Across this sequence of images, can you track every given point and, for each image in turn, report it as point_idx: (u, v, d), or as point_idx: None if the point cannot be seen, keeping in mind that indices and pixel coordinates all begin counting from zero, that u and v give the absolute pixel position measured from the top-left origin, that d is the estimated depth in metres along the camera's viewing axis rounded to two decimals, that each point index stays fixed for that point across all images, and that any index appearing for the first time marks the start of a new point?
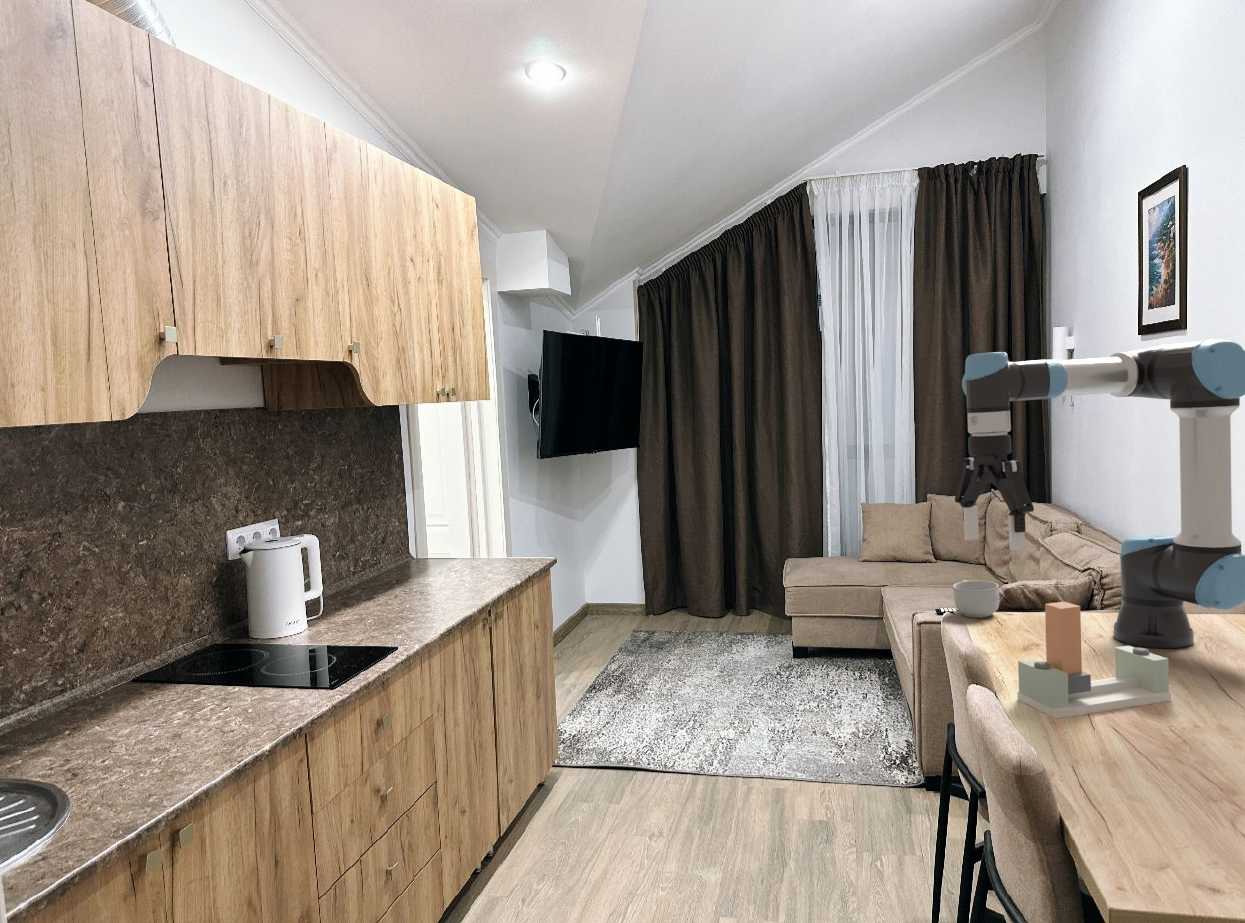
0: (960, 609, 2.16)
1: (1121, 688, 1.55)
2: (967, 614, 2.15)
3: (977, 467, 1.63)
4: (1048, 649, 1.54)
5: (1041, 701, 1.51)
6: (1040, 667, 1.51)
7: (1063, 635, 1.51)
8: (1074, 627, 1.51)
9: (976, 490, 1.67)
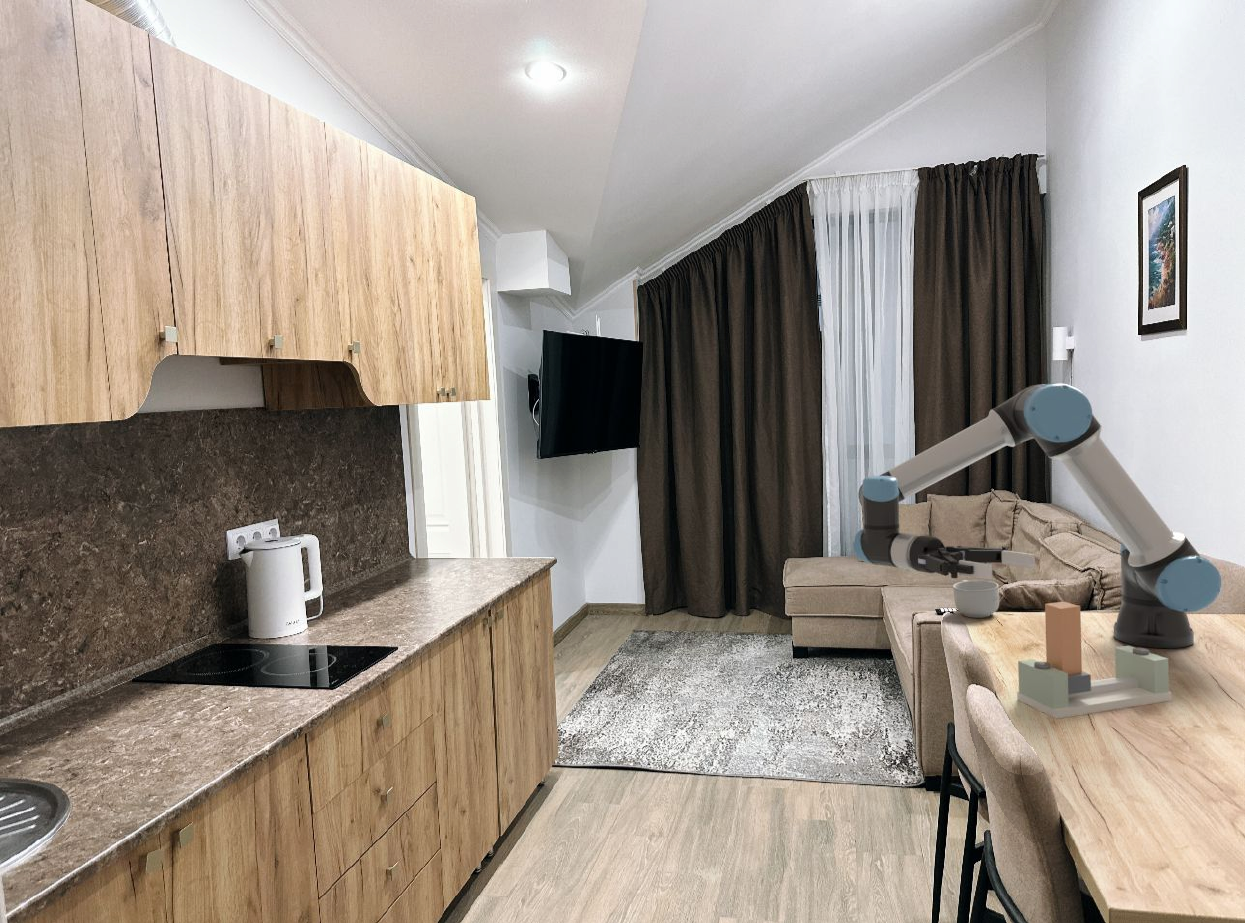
0: (960, 609, 2.16)
1: (1121, 688, 1.55)
2: (967, 614, 2.15)
3: None
4: (1048, 649, 1.54)
5: (1041, 701, 1.51)
6: (1040, 667, 1.51)
7: (1063, 635, 1.51)
8: (1074, 627, 1.51)
9: (979, 557, 1.71)
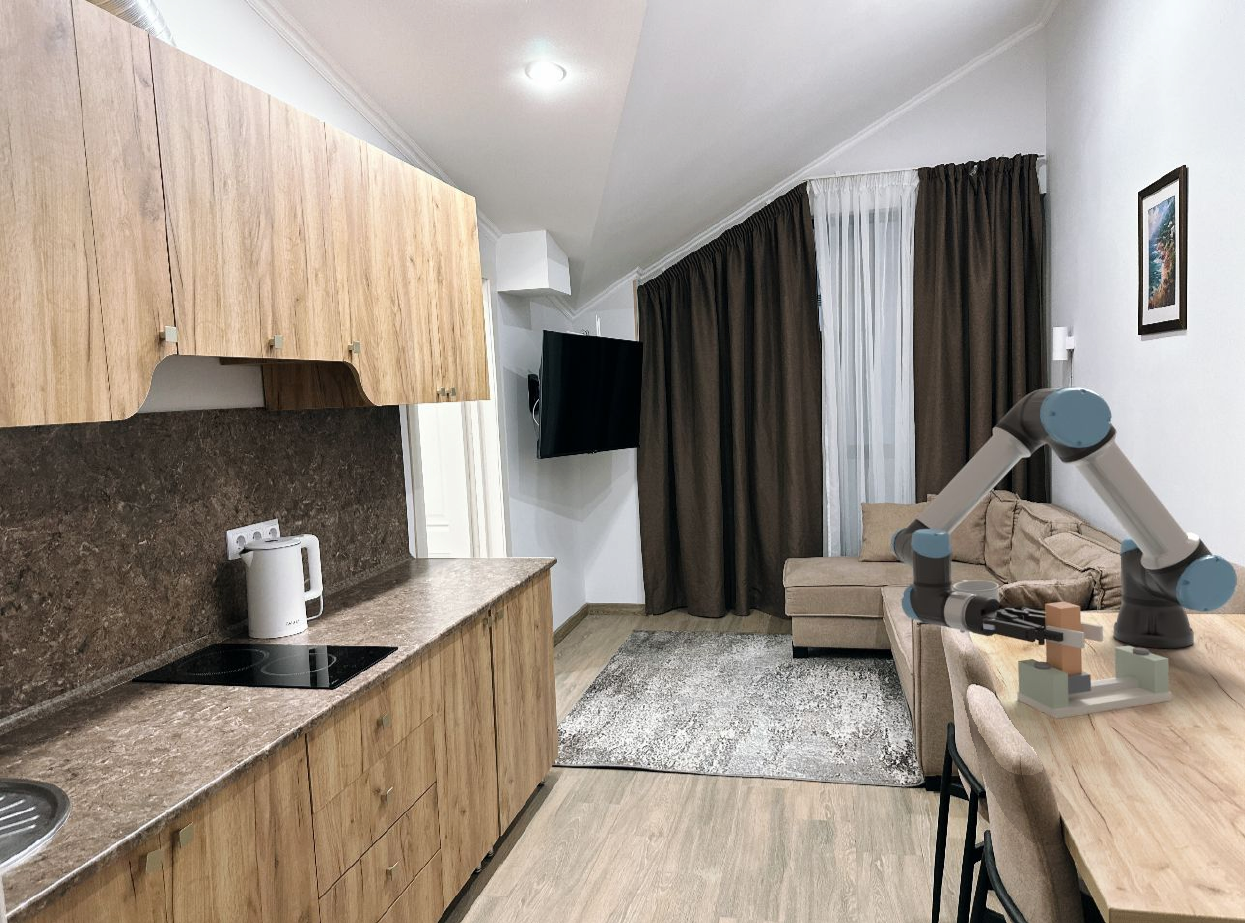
0: None
1: (1121, 688, 1.55)
2: None
3: None
4: (1048, 649, 1.54)
5: (1041, 701, 1.51)
6: (1040, 667, 1.51)
7: None
8: (1074, 627, 1.51)
9: (1038, 623, 1.59)
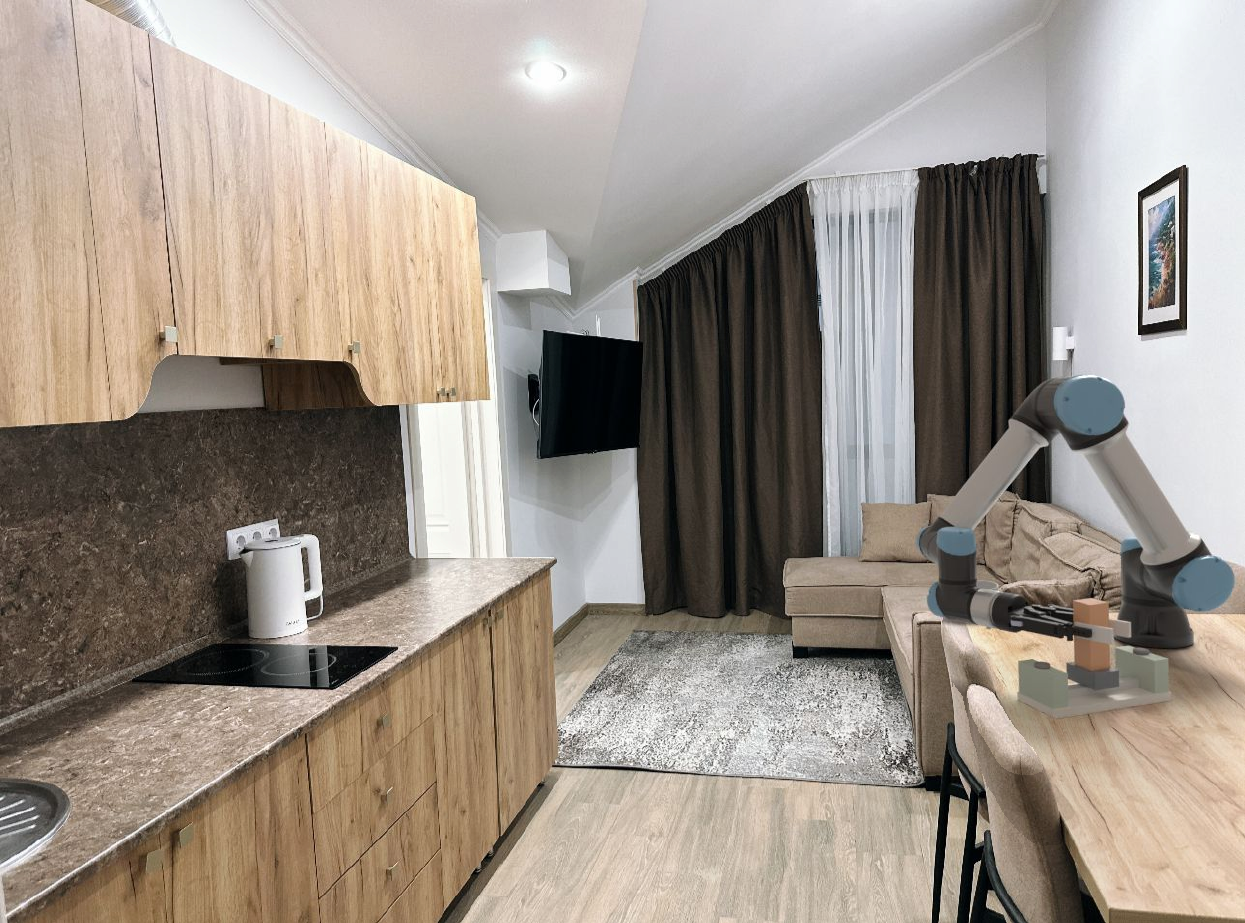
0: None
1: (1121, 688, 1.55)
2: None
3: None
4: (1076, 645, 1.55)
5: (1041, 701, 1.51)
6: (1040, 667, 1.51)
7: None
8: (1102, 623, 1.52)
9: (1065, 619, 1.60)
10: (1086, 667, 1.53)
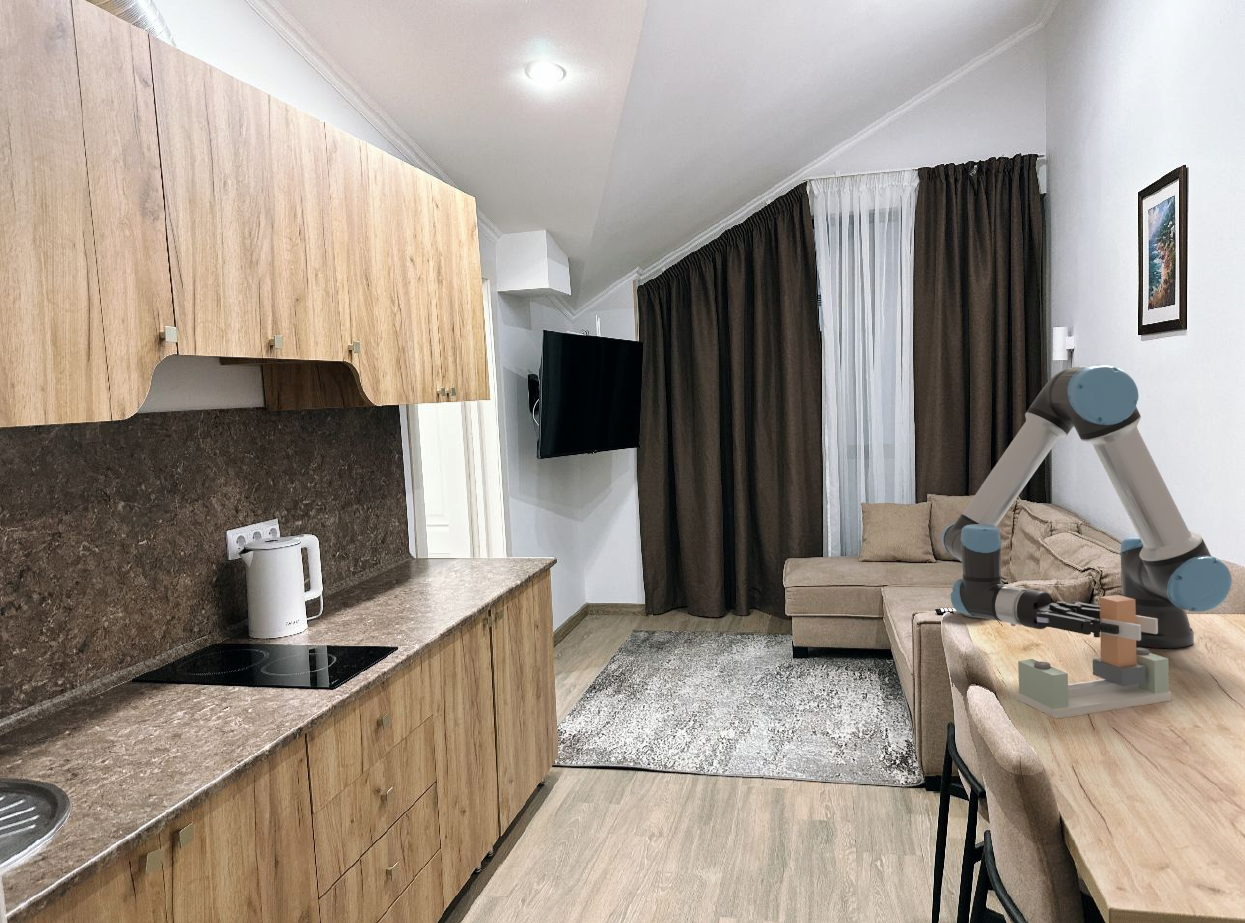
0: None
1: (1121, 688, 1.55)
2: None
3: None
4: (1102, 641, 1.57)
5: (1041, 701, 1.51)
6: (1040, 667, 1.51)
7: None
8: (1129, 620, 1.54)
9: (1091, 616, 1.62)
10: (1113, 663, 1.55)
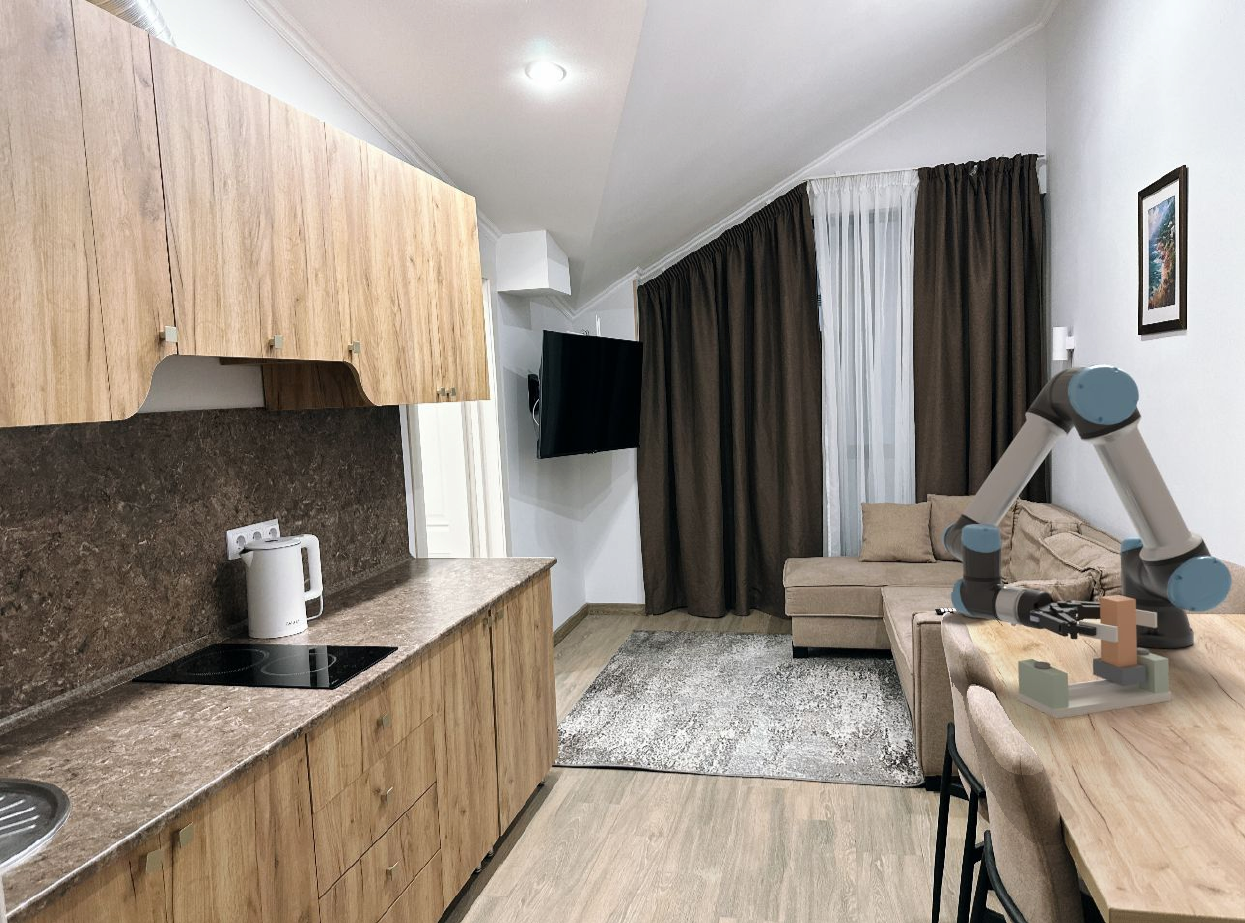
0: None
1: (1121, 688, 1.55)
2: (967, 614, 2.15)
3: None
4: (1103, 641, 1.57)
5: (1041, 701, 1.51)
6: (1040, 667, 1.51)
7: (1119, 627, 1.53)
8: (1129, 620, 1.54)
9: (1093, 613, 1.64)
10: (1113, 663, 1.55)
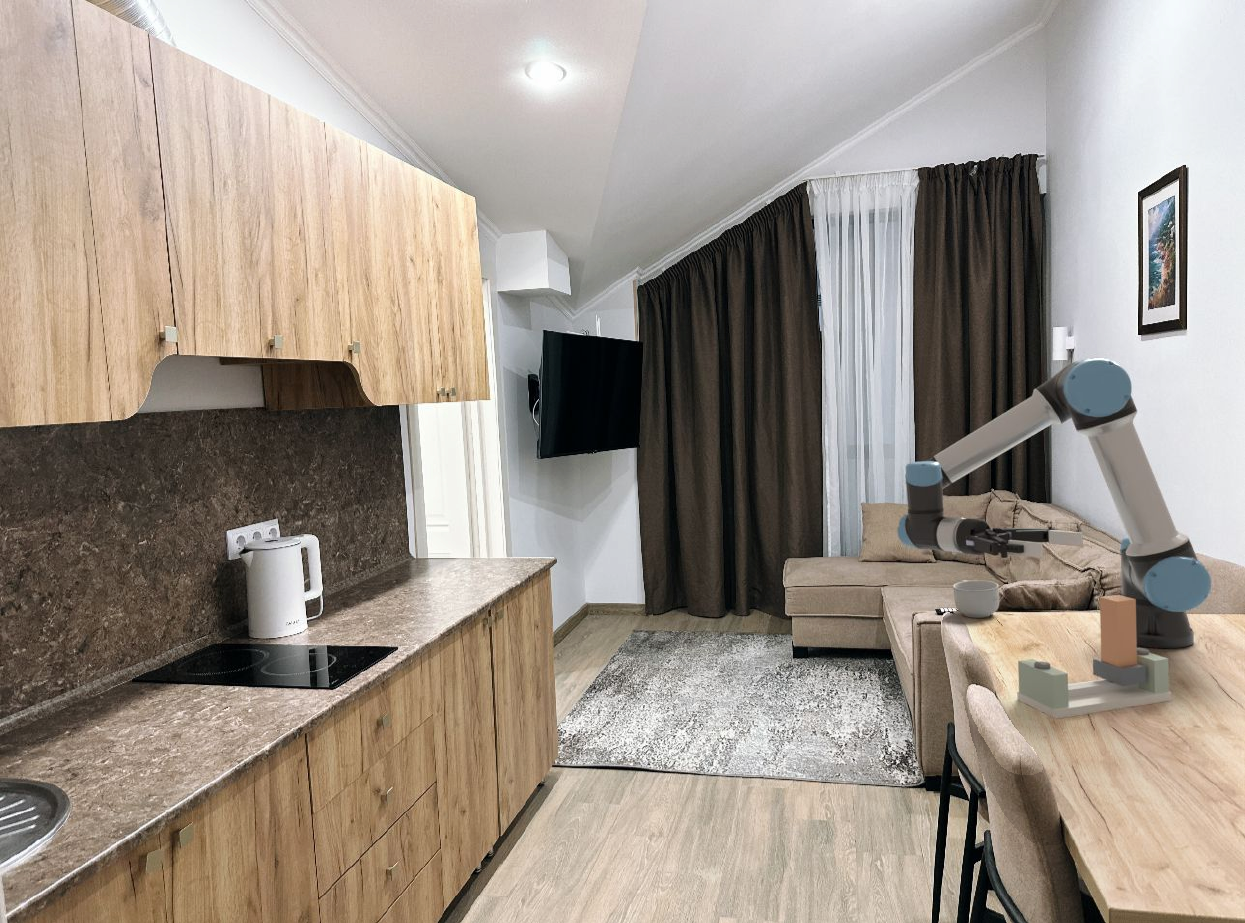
0: (960, 609, 2.16)
1: (1121, 688, 1.55)
2: (967, 614, 2.15)
3: None
4: (1103, 641, 1.57)
5: (1041, 701, 1.51)
6: (1040, 667, 1.51)
7: (1119, 627, 1.53)
8: (1129, 620, 1.54)
9: (1026, 537, 1.74)
10: (1113, 663, 1.55)
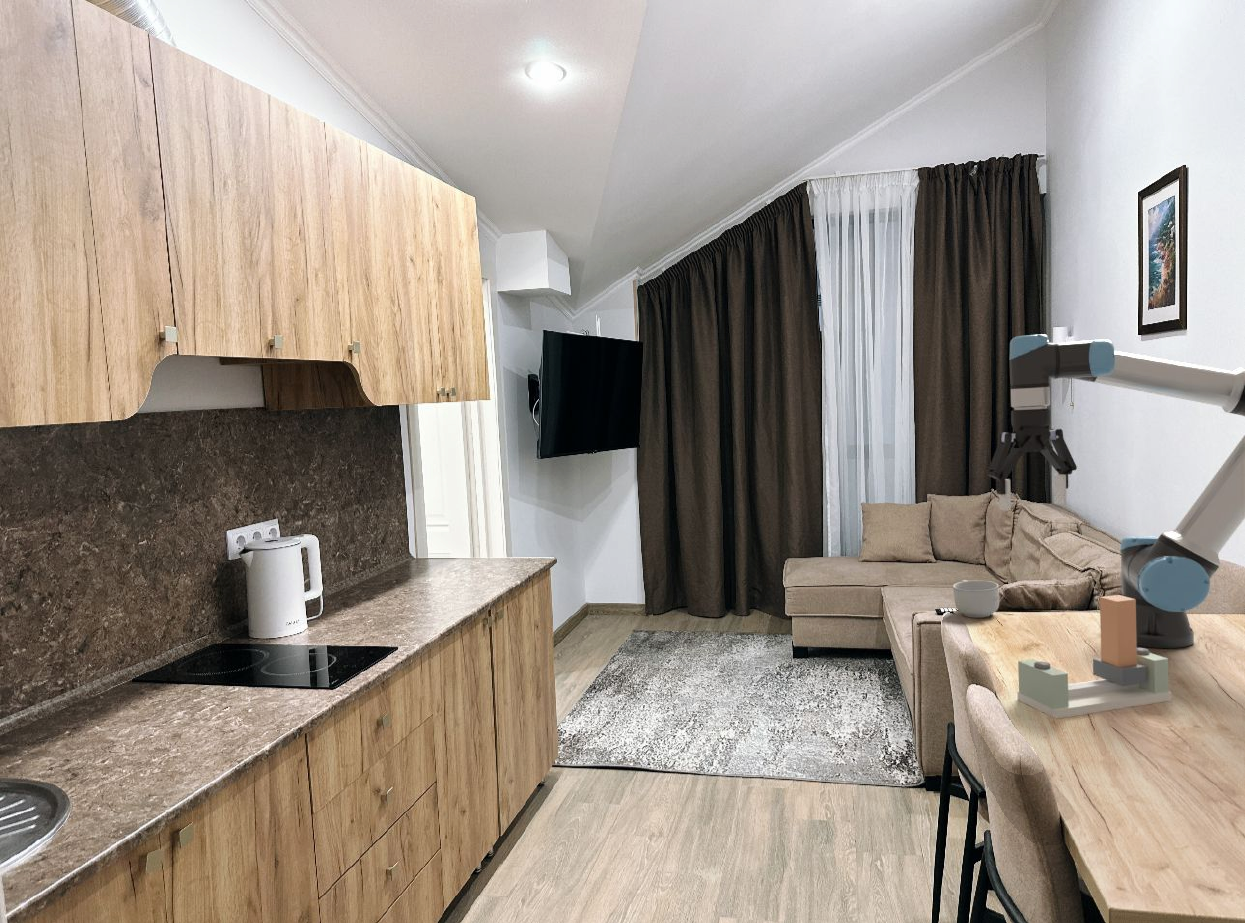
0: (960, 609, 2.16)
1: (1121, 688, 1.55)
2: (967, 614, 2.15)
3: None
4: (1103, 641, 1.57)
5: (1041, 701, 1.51)
6: (1040, 667, 1.51)
7: (1119, 627, 1.53)
8: (1129, 620, 1.54)
9: (1049, 458, 1.83)
10: (1113, 663, 1.55)
